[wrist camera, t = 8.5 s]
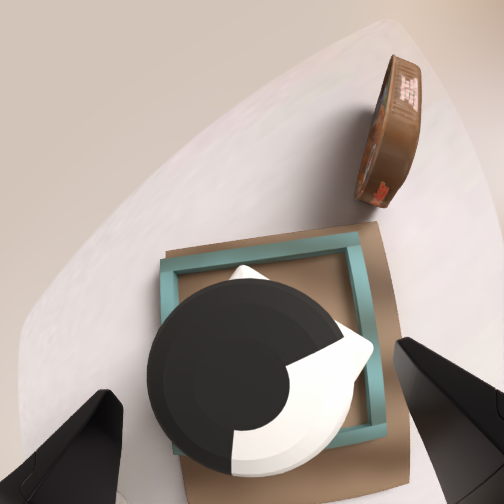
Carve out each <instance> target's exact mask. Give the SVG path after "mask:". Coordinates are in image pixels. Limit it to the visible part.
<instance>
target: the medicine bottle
mask: <svg viewBox="0 0 504 504" xmlns="http://www.w3.org/2000/svg"><path fill="white" fill-rule="evenodd" d="M373 349H374V348H373V344H372V343H371V342H370V341H368V340H367V339H365V338H363V337H362V336H360V335H358V334H357V333H355V332H353V331H352V330H350V329H348V328H347V327H345V326H344V325H342V324H340V323H339V322H337V321H335V320H334V319H333V318H332V317H331V316H330V314H329V313H328V312H327V311H326V310H325V309H324V308H323V307H322V306H321V305H320V304H318V303H317V302H316V301H315V300H313V299H312V298H310V297H309V296H308V295H306V294H305V293H303V292H301V291H299V290H297V289H295V288H293V287H291V286H288V285H285V284H282V283H280V282H275V281H271V280H269V279H268V278H266V277H264V276H263V275H261V274H260V273H258V272H256V271H255V270H253V269H252V268H250V267H249V266H245V265H241V266H239V267H238V268H237V269H236V270H235V272H234V273H233V275H232V276H231V278H230V279H229V280H227V281H222V282H219V283H216V284H213V285H210V286H207V287H205V288H203V289H201V290H199V291H197V292H195V293H194V294H192V295H191V296H189V297H188V298H186V299H185V300H184V301H183V302H181V303H180V304H179V305H178V306H177V307H176V308H175V309H174V310H173V311H172V312H171V313H170V314H169V316H168V317H167V318H166V319H165V321H164V322H163V324H162V325H161V327H160V329H159V330H158V332H157V334H156V337H155V339H154V341H153V344H152V347H151V350H150V353H149V358H148V365H147V388H148V395H149V399H150V403H151V406H152V409H153V412H154V414H155V416H156V419H157V421H158V423H159V424H160V426H161V428H162V429H163V431H164V432H165V434H166V435H167V436H168V438H169V439H170V440H171V441H172V443H173V444H174V445H175V446H177V447H178V448H179V449H180V450H181V451H182V452H183V453H184V454H186V455H187V456H188V457H190V458H191V459H192V460H194V461H196V462H197V463H199V464H201V465H203V466H205V467H207V468H209V469H212V470H214V471H217V472H220V473H224V474H228V475H232V476H239V477H265V476H271V475H277V474H282V473H284V472H286V471H289V470H292V469H294V468H296V467H298V466H300V465H302V464H304V463H306V462H307V461H309V460H310V459H312V458H313V457H315V456H316V455H317V454H319V453H320V452H321V451H322V450H323V449H324V448H325V447H326V446H327V445H328V444H329V443H330V442H331V441H332V439H333V438H334V437H335V436H336V434H337V433H338V431H339V430H340V428H341V426H342V425H343V423H344V421H345V418H346V416H347V414H348V411H349V409H350V405H351V401H352V396H353V389H354V382H355V380H356V379H357V377H358V376H359V374H360V372H361V371H362V369H363V368H364V366H365V364H366V363H367V361H368V359H369V358H370V356H371V354H372V352H373Z"/></svg>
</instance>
